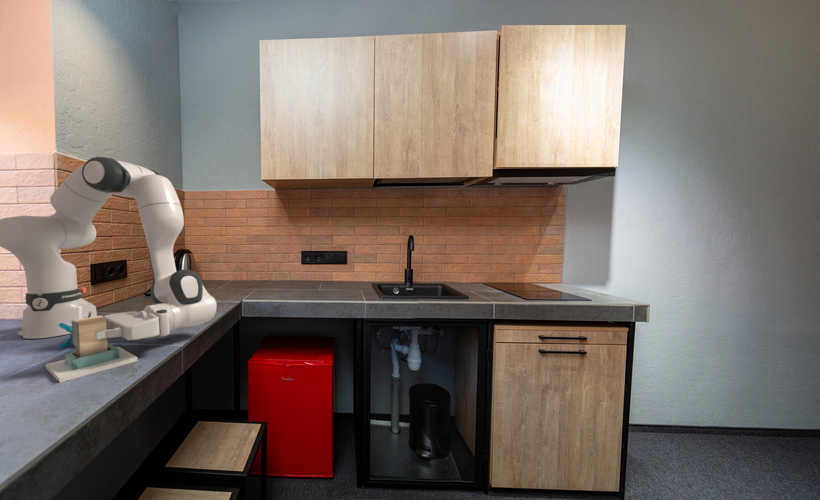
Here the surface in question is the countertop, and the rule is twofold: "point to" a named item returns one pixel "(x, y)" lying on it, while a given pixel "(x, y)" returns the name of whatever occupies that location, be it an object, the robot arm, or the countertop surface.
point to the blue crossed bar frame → (69, 329)
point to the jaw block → (88, 336)
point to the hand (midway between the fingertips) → (89, 332)
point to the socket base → (89, 363)
